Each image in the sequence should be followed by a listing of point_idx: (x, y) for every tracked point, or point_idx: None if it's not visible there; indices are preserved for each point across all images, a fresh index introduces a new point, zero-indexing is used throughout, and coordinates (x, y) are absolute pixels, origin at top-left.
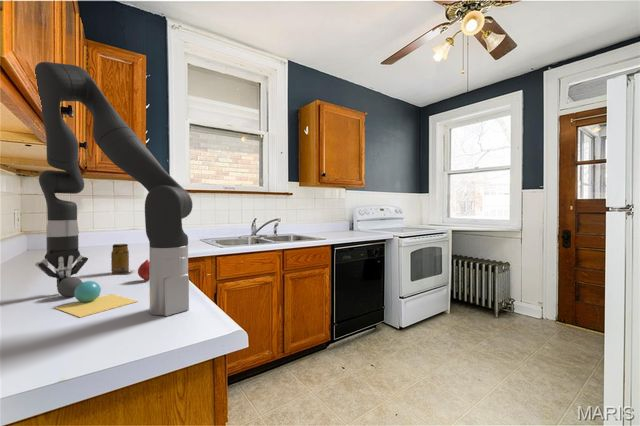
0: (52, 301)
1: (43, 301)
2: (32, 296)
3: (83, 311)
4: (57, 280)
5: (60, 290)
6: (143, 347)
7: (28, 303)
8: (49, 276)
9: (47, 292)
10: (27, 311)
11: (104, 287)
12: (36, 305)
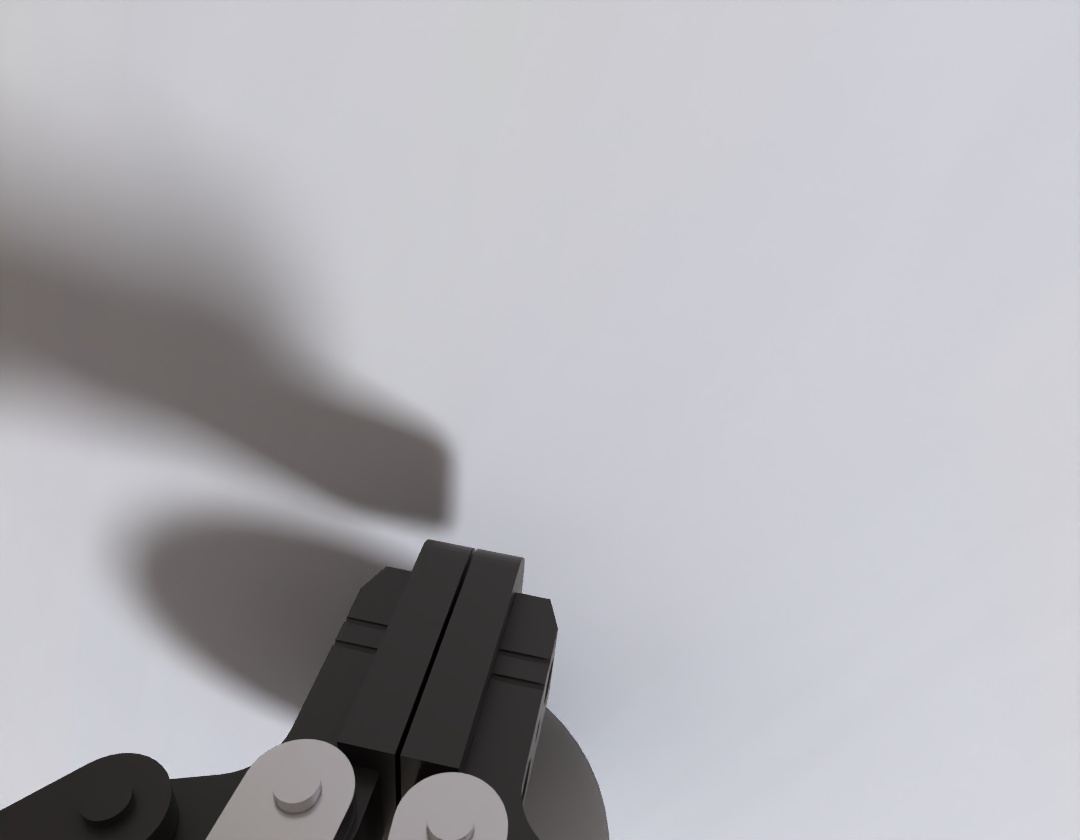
0: (264, 688)
1: (193, 606)
2: (122, 174)
3: None
4: (312, 719)
5: None
6: None
7: (49, 529)
8: (101, 774)
9: (395, 111)
10: (33, 747)
11: (1066, 747)
12: (112, 669)
